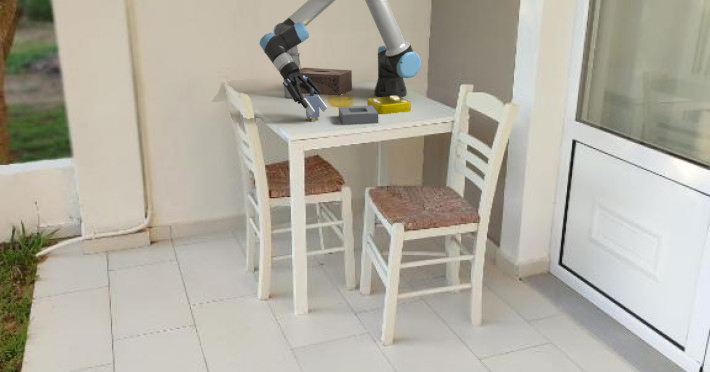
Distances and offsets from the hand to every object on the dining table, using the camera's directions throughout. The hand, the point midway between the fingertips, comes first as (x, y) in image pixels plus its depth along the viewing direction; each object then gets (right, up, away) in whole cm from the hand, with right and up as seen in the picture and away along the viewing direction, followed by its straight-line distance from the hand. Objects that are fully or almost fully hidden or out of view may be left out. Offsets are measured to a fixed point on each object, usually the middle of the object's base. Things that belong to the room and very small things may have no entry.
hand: (319, 111), depth 262 cm
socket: (+16, -3, +3) cm, 16 cm away
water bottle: (-14, +12, +47) cm, 50 cm away
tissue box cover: (-2, +16, +58) cm, 60 cm away
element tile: (+29, +3, +20) cm, 35 cm away
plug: (-3, -3, +3) cm, 5 cm away
